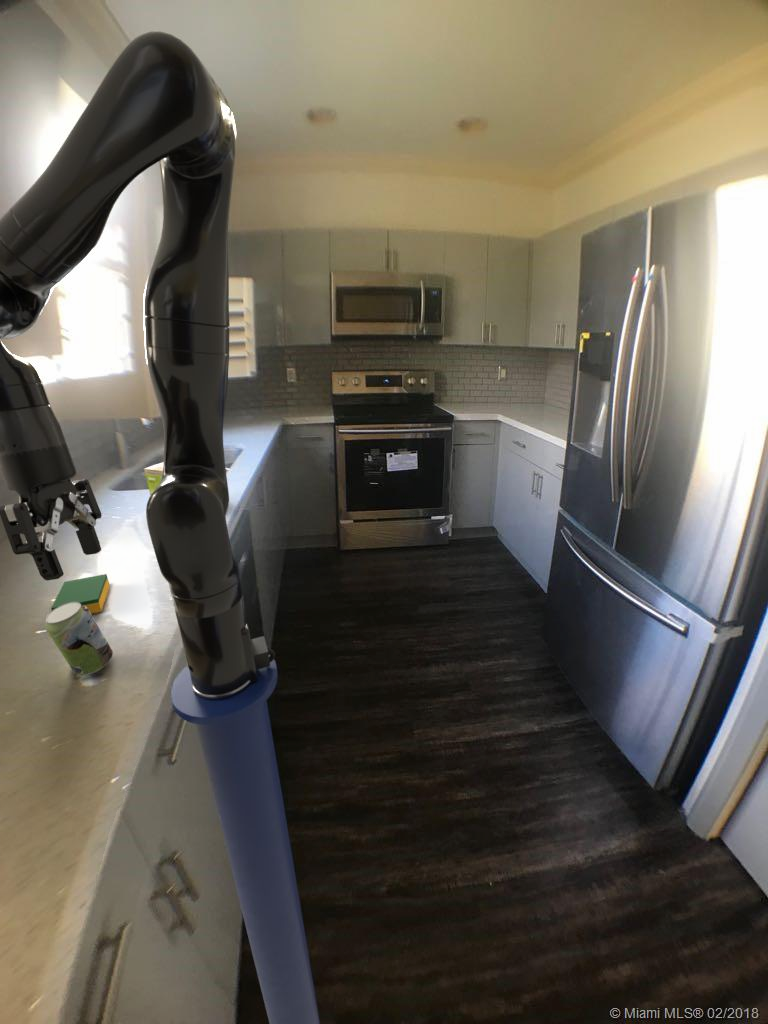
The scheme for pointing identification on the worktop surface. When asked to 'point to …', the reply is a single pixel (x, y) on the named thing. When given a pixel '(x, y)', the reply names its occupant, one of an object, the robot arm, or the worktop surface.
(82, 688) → the worktop surface
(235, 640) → the robot arm
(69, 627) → the beverage can
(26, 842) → the worktop surface
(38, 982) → the worktop surface
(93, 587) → the sponge
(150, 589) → the worktop surface
